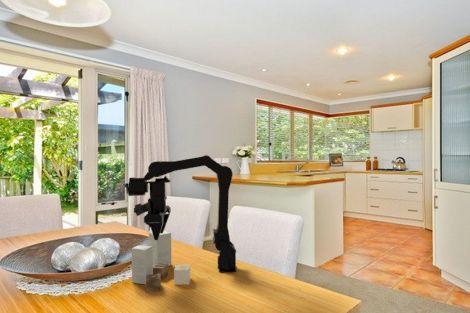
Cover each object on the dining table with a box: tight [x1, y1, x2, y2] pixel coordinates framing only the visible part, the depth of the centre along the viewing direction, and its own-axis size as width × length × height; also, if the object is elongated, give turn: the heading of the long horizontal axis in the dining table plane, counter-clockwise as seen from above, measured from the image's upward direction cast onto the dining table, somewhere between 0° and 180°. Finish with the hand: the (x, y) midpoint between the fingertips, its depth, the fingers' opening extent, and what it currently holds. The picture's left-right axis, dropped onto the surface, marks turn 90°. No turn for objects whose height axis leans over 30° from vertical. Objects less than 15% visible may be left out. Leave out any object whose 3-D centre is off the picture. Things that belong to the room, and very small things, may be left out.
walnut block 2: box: [145, 274, 162, 293], centre depth 100 cm, size 4×4×4 cm
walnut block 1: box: [153, 263, 169, 280], centre depth 110 cm, size 4×4×4 cm
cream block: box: [173, 264, 191, 286], centre depth 105 cm, size 5×5×5 cm
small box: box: [148, 230, 172, 267], centre depth 121 cm, size 8×6×13 cm
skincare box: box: [131, 244, 153, 285], centre depth 105 cm, size 6×4×12 cm
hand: (158, 236), depth 113 cm, fingers open, 9 cm apart
